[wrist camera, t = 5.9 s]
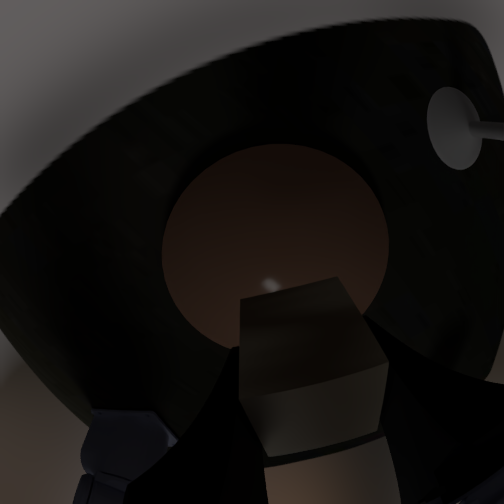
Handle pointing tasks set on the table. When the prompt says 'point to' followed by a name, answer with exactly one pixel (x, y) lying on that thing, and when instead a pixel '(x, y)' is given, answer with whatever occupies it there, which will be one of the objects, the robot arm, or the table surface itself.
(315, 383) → the birch block
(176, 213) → the terracotta dish
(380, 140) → the table surface
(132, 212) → the table surface
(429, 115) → the champagne flute
